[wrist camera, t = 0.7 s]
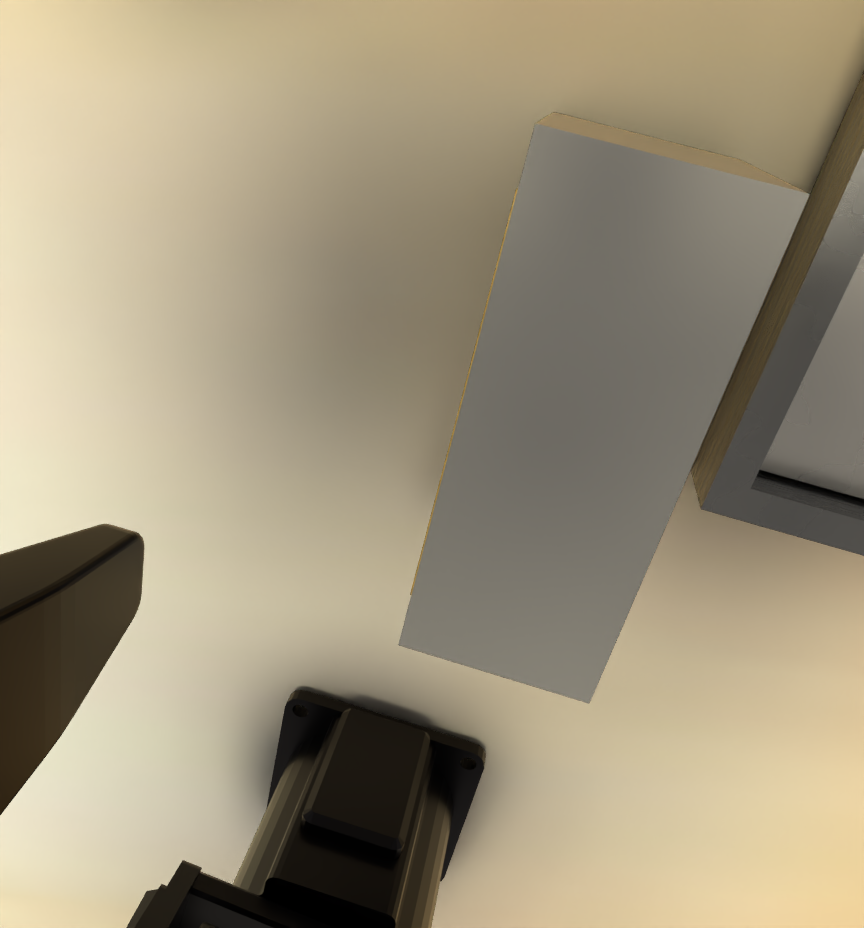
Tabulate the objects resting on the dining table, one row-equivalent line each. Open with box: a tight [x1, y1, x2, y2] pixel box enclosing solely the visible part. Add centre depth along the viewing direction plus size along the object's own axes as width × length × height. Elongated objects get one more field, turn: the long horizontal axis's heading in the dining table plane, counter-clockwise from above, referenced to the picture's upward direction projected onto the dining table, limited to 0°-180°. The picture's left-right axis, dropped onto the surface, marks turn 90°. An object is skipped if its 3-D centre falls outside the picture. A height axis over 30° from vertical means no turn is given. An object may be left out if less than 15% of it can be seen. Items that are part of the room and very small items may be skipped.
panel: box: [399, 112, 810, 703], centre depth 16 cm, size 10×4×6 cm, turn 167°
